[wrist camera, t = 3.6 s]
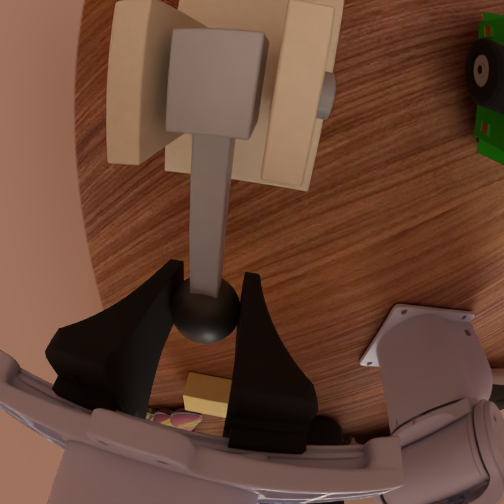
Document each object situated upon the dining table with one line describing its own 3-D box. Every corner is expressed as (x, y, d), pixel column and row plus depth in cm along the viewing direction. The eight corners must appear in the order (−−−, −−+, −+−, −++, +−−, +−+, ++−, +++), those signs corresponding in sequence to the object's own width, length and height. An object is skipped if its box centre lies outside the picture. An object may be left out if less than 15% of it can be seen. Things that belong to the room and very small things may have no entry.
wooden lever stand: (306, 185, 16) (325, 300, 8) (170, 165, 16) (81, 256, 9) (341, 1, 10) (408, -70, 2) (188, -14, 10) (92, -78, 2)
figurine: (551, 348, 20) (487, 372, 21) (533, 414, 19) (465, 448, 20) (519, 340, 27) (453, 356, 28) (506, 400, 27) (438, 423, 27)
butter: (245, 381, 28) (242, 406, 26) (241, 397, 31) (238, 419, 28) (189, 371, 28) (182, 395, 26) (190, 388, 31) (184, 410, 28)
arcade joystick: (240, 311, 14) (232, 362, 12) (182, 301, 14) (165, 348, 12) (282, 43, 7) (283, 32, 5) (189, 36, 7) (151, 28, 5)
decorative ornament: (163, 404, 30) (231, 432, 33) (167, 390, 32) (233, 418, 35) (125, 424, 38) (177, 446, 41) (129, 414, 40) (180, 436, 43)
